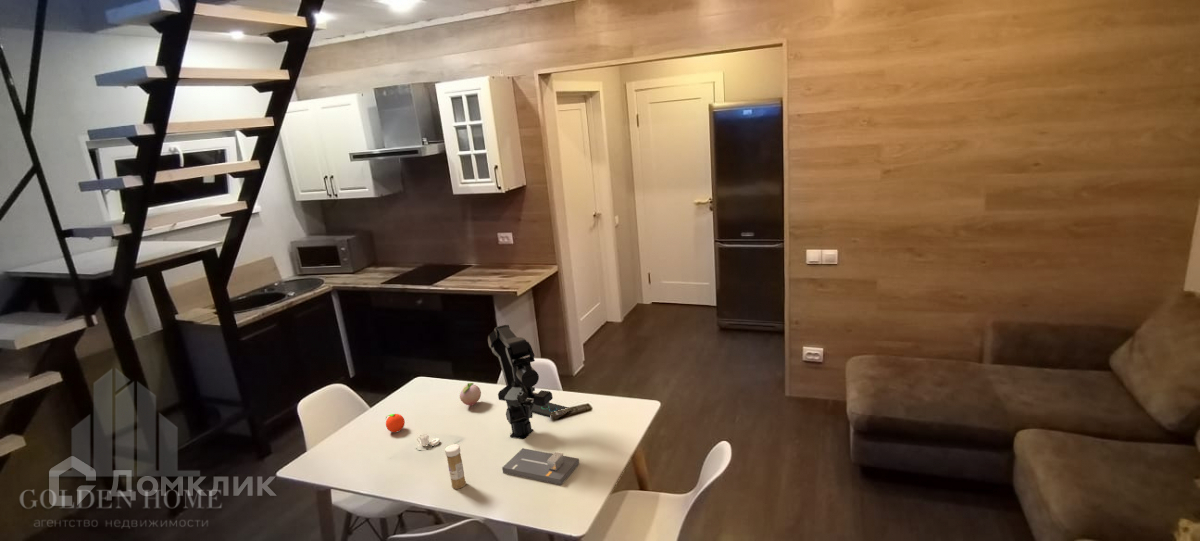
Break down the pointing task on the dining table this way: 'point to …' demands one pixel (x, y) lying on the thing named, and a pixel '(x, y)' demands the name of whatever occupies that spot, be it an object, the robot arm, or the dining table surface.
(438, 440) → the white charger with cable
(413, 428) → the dining table surface
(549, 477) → the board
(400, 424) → the clementine
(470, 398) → the decorative fruit
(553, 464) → the fader tab
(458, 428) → the dining table surface
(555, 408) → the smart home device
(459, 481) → the sprinkles bottle
